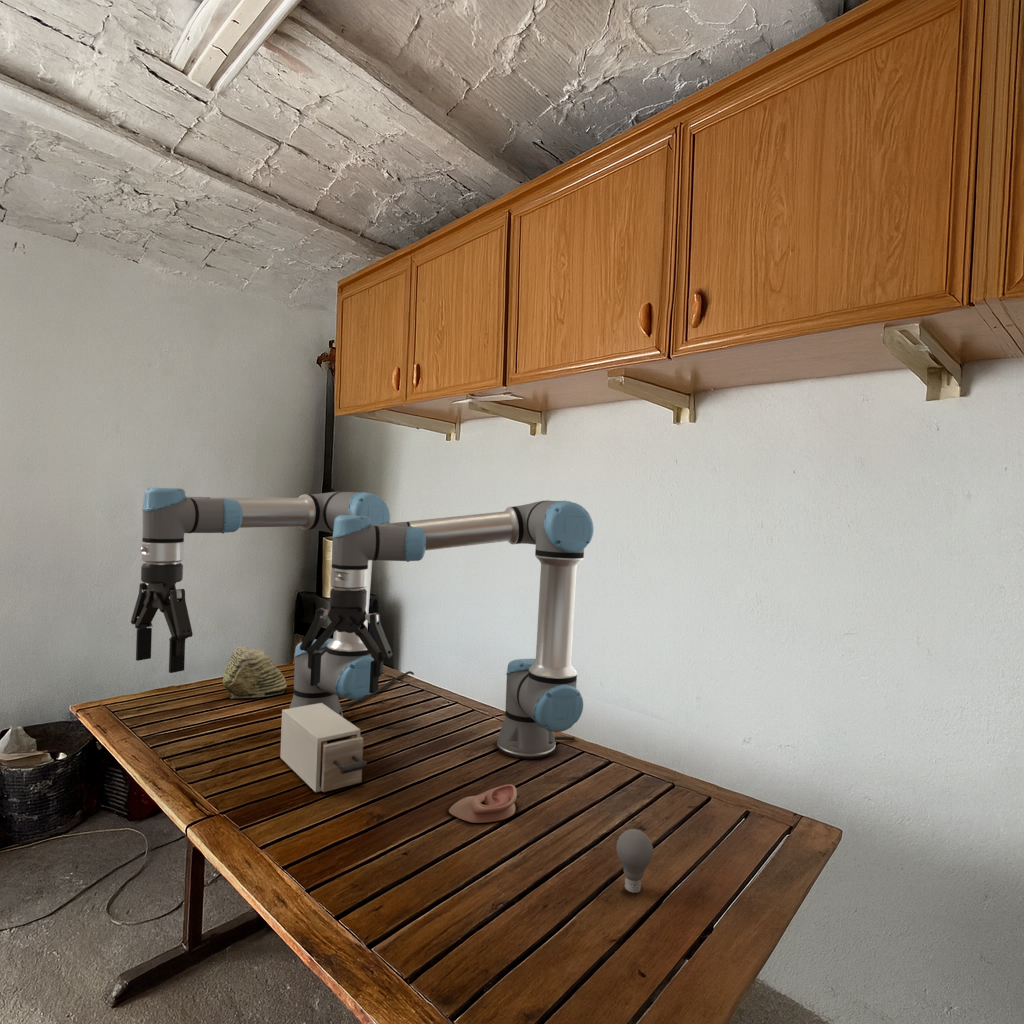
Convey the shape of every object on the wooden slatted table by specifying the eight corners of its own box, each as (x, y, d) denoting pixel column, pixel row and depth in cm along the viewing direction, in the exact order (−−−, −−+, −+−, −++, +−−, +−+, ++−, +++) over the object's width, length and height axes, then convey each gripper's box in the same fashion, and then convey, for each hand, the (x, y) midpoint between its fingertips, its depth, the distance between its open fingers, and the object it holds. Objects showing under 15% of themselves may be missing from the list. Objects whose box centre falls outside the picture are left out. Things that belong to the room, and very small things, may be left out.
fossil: (218, 695, 195) (220, 647, 195) (278, 685, 208) (279, 640, 207) (228, 703, 189) (230, 653, 188) (289, 692, 201) (290, 645, 201)
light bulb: (610, 879, 108) (613, 822, 108) (644, 879, 109) (647, 822, 109) (619, 902, 102) (622, 840, 102) (655, 901, 103) (658, 840, 103)
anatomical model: (444, 799, 126) (460, 775, 138) (443, 818, 126) (460, 793, 138) (509, 808, 124) (520, 783, 135) (508, 828, 124) (519, 801, 135)
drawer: (373, 791, 135) (375, 746, 135) (334, 802, 130) (336, 755, 129) (324, 750, 155) (325, 711, 155) (288, 758, 150) (290, 717, 150)
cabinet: (358, 781, 142) (360, 729, 142) (315, 792, 136) (317, 738, 135) (320, 748, 159) (321, 702, 158) (280, 757, 152) (282, 709, 152)
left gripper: (114, 558, 134) (111, 657, 135) (175, 569, 120) (172, 681, 120) (151, 556, 140) (148, 651, 141) (213, 567, 126) (210, 673, 127)
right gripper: (286, 585, 133) (281, 685, 134) (396, 595, 128) (391, 699, 128) (305, 581, 141) (300, 676, 141) (410, 590, 135) (405, 689, 136)
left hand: (159, 665), depth 131 cm, fingers open, 13 cm apart
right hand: (344, 687), depth 135 cm, fingers open, 13 cm apart
